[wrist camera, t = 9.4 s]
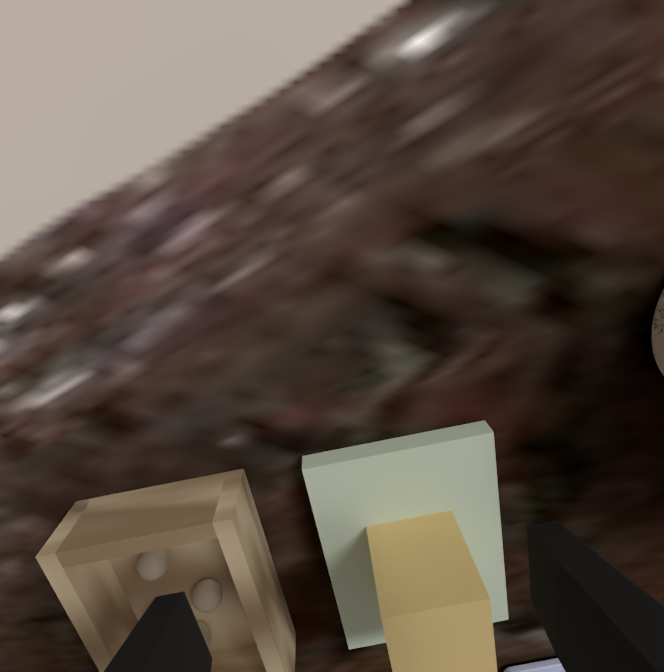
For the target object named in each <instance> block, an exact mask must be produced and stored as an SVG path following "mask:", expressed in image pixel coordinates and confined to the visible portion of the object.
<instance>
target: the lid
mask: <svg viewBox="0 0 664 672" xmlns="http://www.w3.org/2000/svg"><path fill="white" fill-rule="evenodd" d="M302 472H303V476H304V480H305V484H306V488H307V491H308V495H309V499H310V503H311V507H312V511H313V514H314V518H315V522H316V526H317V530H318V533H319V537H320V541H321V545H322V549H323V552H324V556H325V560H326V564H327V568H328V571H329V575H330V579H331V583H332V587H333V590H334V594H335V598H336V602H337V606H338V610H339V613H340V617H341V621H342V625H343V629H344V632H345V636H346V640H347V644H348V648H349V649H354V648H360V647H365V646H370V645H375V644H381V643H387V648H388V652H389V657H390V661H391V666H392V671H393V672H497V663H496V653H495V643H494V633H493V622H498V621H503V620H508V607H507V594H506V582H505V569H504V557H503V544H502V532H501V519H500V506H499V494H498V481H497V469H496V456H495V444H494V432H493V431H492V429H491V428H490V427H489V425H488V424H487V423H486V421H485V420H484V421H479V422H473V423H468V424H463V425H458V426H453V427H448V428H443V429H438V430H433V431H428V432H423V433H418V434H412V435H407V436H402V437H397V438H392V439H387V440H382V441H377V442H372V443H367V444H362V445H356V446H351V447H346V448H341V449H336V450H331V451H326V452H321V453H316V454H311V455H306V456H302Z"/></svg>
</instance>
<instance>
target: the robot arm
mask: <svg viewBox="0 0 664 672" xmlns="http://www.w3.org/2000/svg"><path fill="white" fill-rule="evenodd" d="M527 533H528V551H529V570H530V588H531V599H532V602H533V604H534V606H535V609H536V611H537V613H538V615H539V618H540V620H541V622H542V625H543V627H544V629H545V631H546V634H547V636H548V638H549V640H550V642H551V644H552V647H553V649H554V651H555V653H556V655H557V657H558V658H554V659H549V660H544V661H538V662H533V663H527V664H522V665H517V666H511V667H508V668H506V669H505V670H504V671H503V672H664V605H663V604H661V603H660V602H659V601H657V600H656V599H655V598H653V597H652V596H651V595H650V594H648V593H647V592H646V591H644V590H643V589H642V588H640V587H639V586H638V585H637V584H635V583H634V582H633V581H632V580H630V579H629V578H628V577H626V576H625V575H624V574H623V573H621V572H620V571H619V570H618V569H616V568H615V567H614V566H613V565H611V564H610V563H609V562H608V561H607V560H605V559H604V558H603V557H602V556H600V555H599V554H598V553H597V552H595V551H594V550H593V549H592V548H591V547H589V546H588V545H587V544H586V543H585V542H583V541H582V540H581V539H580V538H579V537H577V536H576V535H575V534H574V533H572V532H571V531H570V530H569V529H568V528H566V527H565V526H564V525H563V524H561V523H560V522H559V521H557V520H556V521H550V522H545V523H540V524H535V525H529V526H527ZM211 667H212V656H211V654H210V651H209V649H208V647H207V644H206V642H205V640H204V637H203V635H202V632H201V630H200V628H199V625H198V623H197V621H196V618H195V616H194V613H193V611H192V609H191V606H190V604H189V602H188V599H187V597H186V594H185V592H184V591H183V592H178V593H173V594H167V595H162V596H157V597H155V599H154V600H153V601H152V603H151V604H150V606H149V607H148V608H147V610H146V611H145V613H144V614H143V615H142V617H141V618H140V620H139V621H138V623H137V624H136V626H135V627H134V628H133V630H132V631H131V633H130V634H129V636H128V637H127V639H126V640H125V641H124V643H123V644H122V646H121V647H120V649H119V650H118V652H117V653H116V655H115V656H114V657H113V659H112V660H111V662H110V663H109V665H108V666H107V667H106V669H105V670H104V672H211Z"/></svg>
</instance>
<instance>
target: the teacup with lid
mask: <svg viewBox="0 0 664 672" xmlns="http://www.w3.org/2000/svg"><path fill="white" fill-rule="evenodd" d="M651 338H652V349H653V354H654V357H655V361H656V363H657V365H658V368H659V370H660V371H661V373H662V375H663V376H664V289H663V291H662V293H661V296H660V298H659V300H658V303H657V306H656V309H655V313H654V317H653V323H652V336H651Z"/></svg>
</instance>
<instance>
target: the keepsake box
mask: <svg viewBox="0 0 664 672" xmlns="http://www.w3.org/2000/svg"><path fill="white" fill-rule="evenodd" d="M36 559H37V561H38V563H39V564H40V566H41V568H42V570H43V572H44V573H45V575H46V577H47V579H48V580H49V582H50V584H51V586H52V588H53V589H54V591H55V593H56V595H57V597H58V598H59V600H60V602H61V604H62V606H63V607H64V609H65V611H66V613H67V614H68V616H69V618H70V620H71V622H72V623H73V625H74V627H75V629H76V631H77V632H78V634H79V636H80V638H81V640H82V641H83V643H84V645H85V647H86V648H87V650H88V652H89V654H90V656H91V657H92V659H93V661H94V663H95V665H96V666H97V668H98V670H99V672H104V670H105V669H106V667H107V666H108V665H109V663H110V662H111V660H112V659H113V657H114V656H115V655H116V653H117V652H118V650H119V649H120V647H121V646H122V644H123V643H124V641H125V640H126V639H127V637H128V636H129V634H130V633H131V631H132V630H133V628H134V627H135V626H136V624H137V623H138V621H139V620H140V618H141V617H142V615H143V614H144V613H145V611H146V610H147V608H148V607H149V606H150V604H151V603H152V601H153V600H154V599H155V597H157V596H162V595H167V594H173V593H178V592H183V591H184V592H185V594H186V597H187V599H188V602H189V604H190V606H191V609H192V611H193V613H194V616H195V618H196V621H197V623H198V625H199V628H200V630H201V632H202V635H203V637H204V640H205V642H206V644H207V647H208V649H209V651H210V654H211V656H212V667H211V672H295V645H296V632H295V629H294V626H293V623H292V620H291V617H290V613H289V610H288V607H287V604H286V601H285V598H284V594H283V591H282V588H281V585H280V582H279V579H278V576H277V572H276V569H275V566H274V563H273V560H272V557H271V553H270V550H269V547H268V544H267V541H266V538H265V535H264V531H263V528H262V525H261V522H260V519H259V516H258V512H257V509H256V506H255V503H254V500H253V497H252V494H251V490H250V487H249V484H248V481H247V478H246V475H245V471H244V469H239V470H234V471H229V472H224V473H219V474H213V475H208V476H203V477H198V478H193V479H188V480H183V481H178V482H173V483H167V484H162V485H157V486H152V487H147V488H142V489H137V490H132V491H127V492H122V493H116V494H111V495H106V496H101V497H96V498H91V499H86V500H81V501H76V502H75V504H74V505H73V506H72V508H71V509H70V510H69V512H68V513H67V515H66V516H65V517H64V519H63V520H62V521H61V523H60V524H59V525H58V527H57V528H56V530H55V531H54V532H53V534H52V535H51V536H50V538H49V539H48V540H47V542H46V543H45V545H44V546H43V547H42V549H41V550H40V551H39V553H38V554H37V555H36Z"/></svg>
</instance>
